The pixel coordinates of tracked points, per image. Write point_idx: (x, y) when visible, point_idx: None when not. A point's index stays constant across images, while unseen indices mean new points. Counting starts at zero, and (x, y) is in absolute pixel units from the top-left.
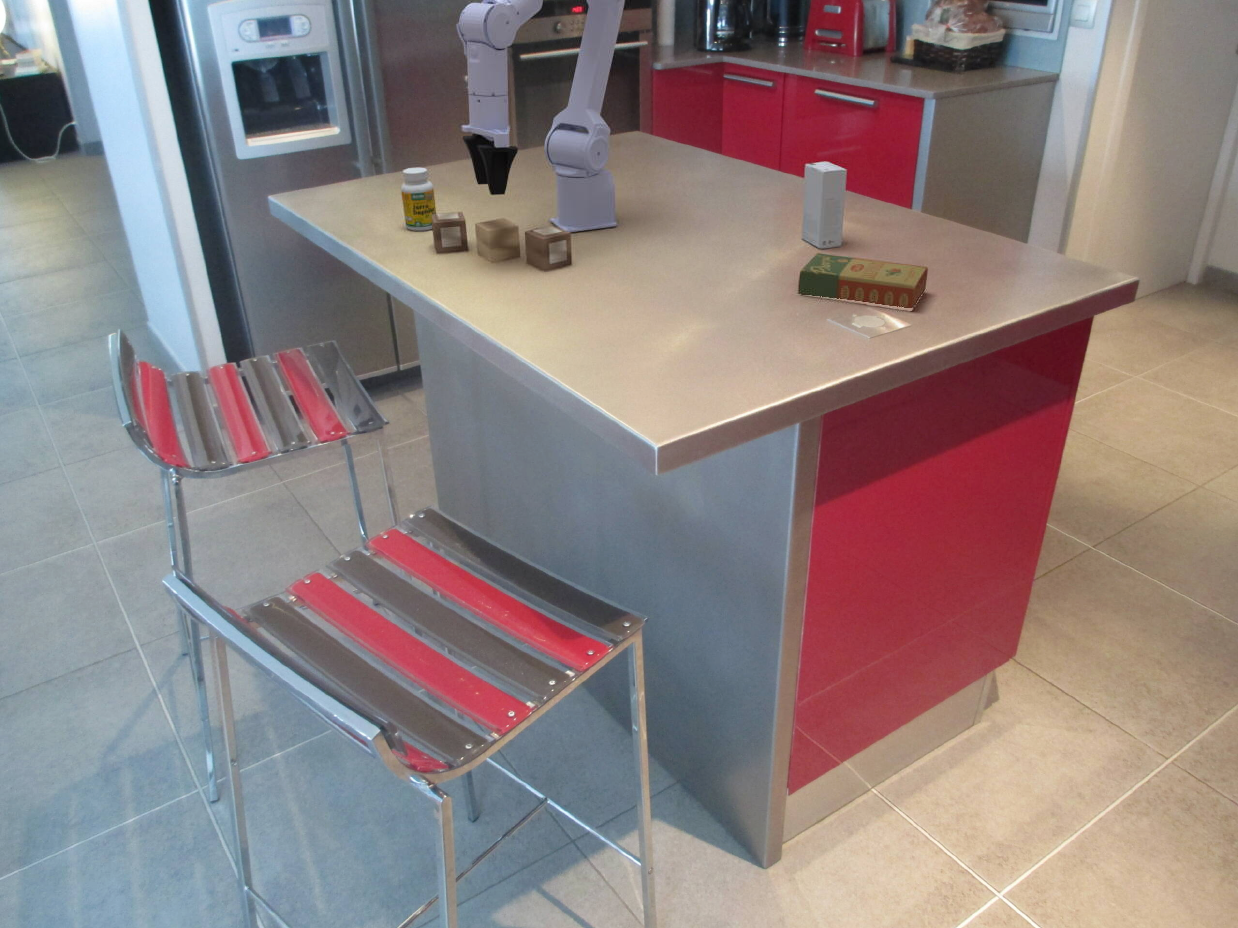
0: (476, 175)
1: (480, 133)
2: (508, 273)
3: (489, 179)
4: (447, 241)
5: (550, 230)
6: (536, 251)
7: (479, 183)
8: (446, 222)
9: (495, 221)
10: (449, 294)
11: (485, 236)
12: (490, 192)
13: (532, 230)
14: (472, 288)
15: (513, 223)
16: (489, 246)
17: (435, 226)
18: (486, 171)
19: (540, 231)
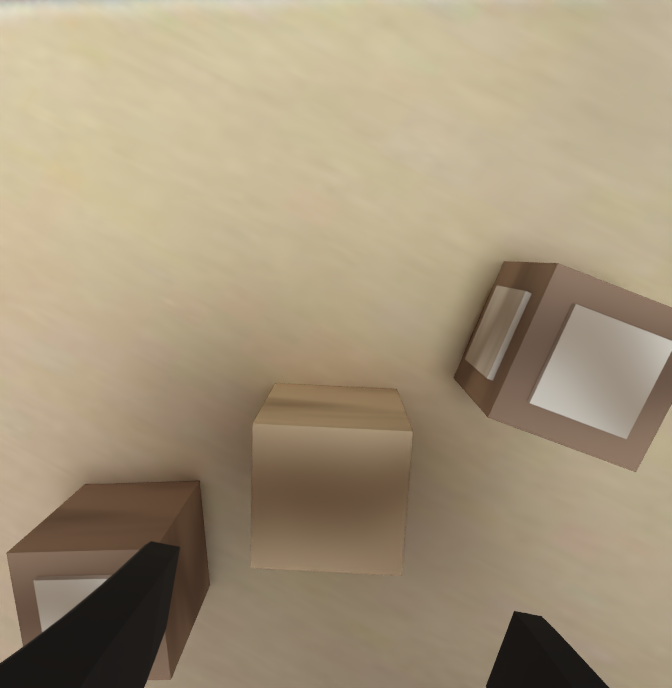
0: (549, 659)
1: None
2: (133, 377)
3: (67, 615)
4: (493, 309)
5: None
6: (99, 514)
7: (517, 624)
8: (527, 327)
9: (378, 521)
10: (37, 89)
11: (300, 414)
12: (153, 550)
13: None
14: (54, 194)
15: (296, 569)
16: (269, 401)
17: (545, 271)
18: (61, 669)
19: None
